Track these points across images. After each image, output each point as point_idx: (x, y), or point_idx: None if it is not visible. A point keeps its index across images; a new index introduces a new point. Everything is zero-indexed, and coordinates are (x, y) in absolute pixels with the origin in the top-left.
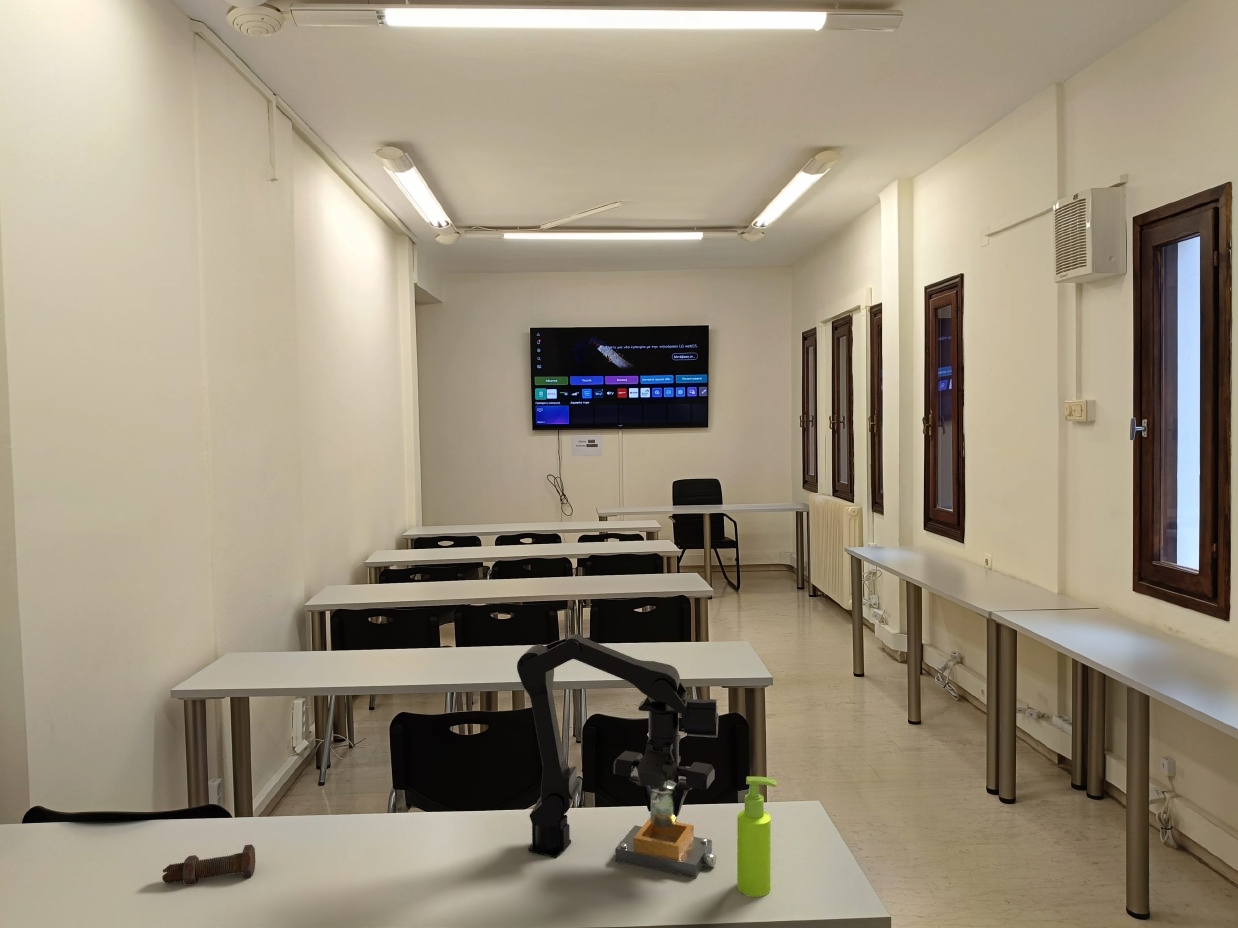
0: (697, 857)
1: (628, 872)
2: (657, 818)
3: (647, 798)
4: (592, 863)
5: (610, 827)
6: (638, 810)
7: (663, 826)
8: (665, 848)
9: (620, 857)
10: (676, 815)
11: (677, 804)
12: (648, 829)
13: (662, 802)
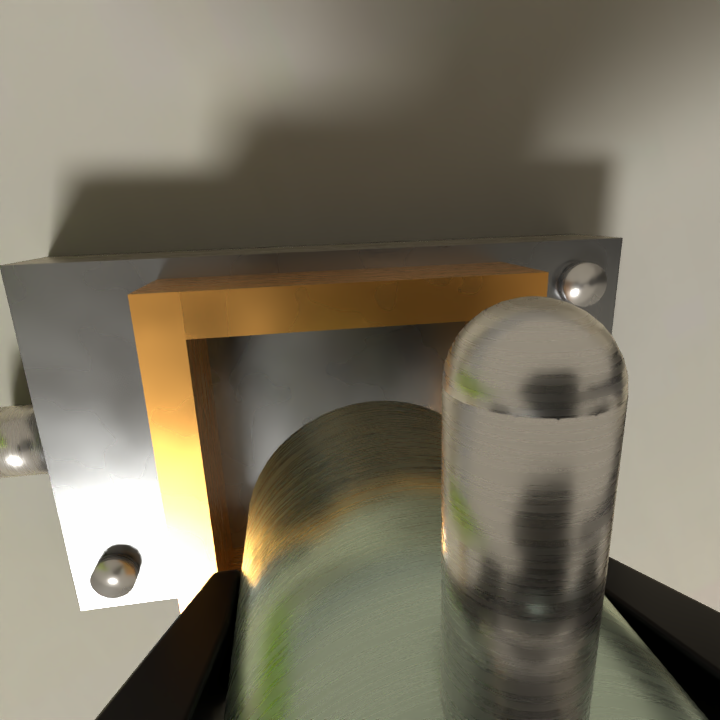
0: (50, 369)
1: (462, 143)
2: (408, 433)
3: (676, 625)
4: (685, 152)
5: (686, 527)
6: None
7: (328, 416)
8: (261, 282)
9: (557, 236)
10: (217, 576)
11: (147, 699)
12: None
13: (390, 598)
